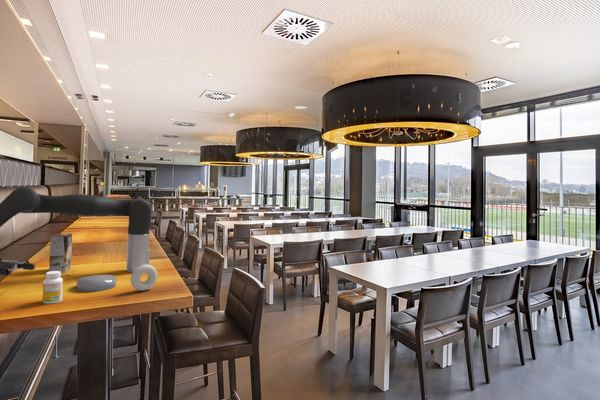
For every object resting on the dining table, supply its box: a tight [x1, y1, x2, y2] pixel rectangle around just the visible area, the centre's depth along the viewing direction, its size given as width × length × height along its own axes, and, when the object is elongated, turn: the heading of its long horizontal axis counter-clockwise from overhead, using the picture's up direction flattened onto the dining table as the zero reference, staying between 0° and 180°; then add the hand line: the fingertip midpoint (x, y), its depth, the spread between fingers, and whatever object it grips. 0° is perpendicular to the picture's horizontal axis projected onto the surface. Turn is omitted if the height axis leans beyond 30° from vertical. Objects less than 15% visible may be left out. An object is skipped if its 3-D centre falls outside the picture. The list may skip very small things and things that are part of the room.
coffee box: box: [48, 233, 73, 273], centre depth 153 cm, size 9×6×16 cm
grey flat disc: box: [76, 274, 117, 293], centre depth 132 cm, size 13×13×3 cm
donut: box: [129, 264, 158, 292], centre depth 130 cm, size 10×4×10 cm, turn 139°
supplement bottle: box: [42, 271, 64, 305], centre depth 114 cm, size 5×5×10 cm
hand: (22, 269), depth 115 cm, fingers open, 8 cm apart
